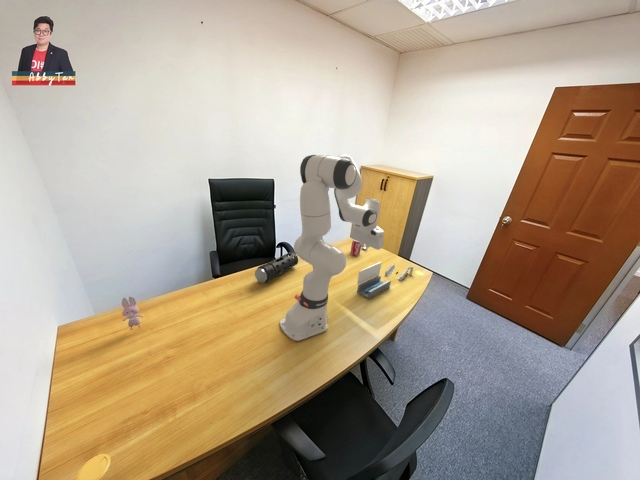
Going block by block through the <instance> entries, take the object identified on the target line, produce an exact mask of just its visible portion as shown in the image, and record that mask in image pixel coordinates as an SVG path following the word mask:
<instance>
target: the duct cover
mask: <svg viewBox="0 0 640 480" xmlns="http://www.w3.org/2000/svg"><path fill="white" fill-rule="evenodd" d="M382 263H383V262H382V261H379V262H377V263H374V264H372V265H369V266H368V267H365V268H363V269H360V270H359V271H358V276H357V281H356V285H357V286H358V285H360V284H362V283H364V282H366V281H368V280H370V279H372V278H374V277H376V276H378V275H380V272H381V268H382Z"/></svg>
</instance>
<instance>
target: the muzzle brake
mask: <svg viewBox="0 0 640 480" xmlns="http://www.w3.org/2000/svg"><path fill="white" fill-rule="evenodd" d="M298 264H299V256H298V255H297V254H296V253H295V252H293V251H290V252H287V253H286V254H283V255H281V256H279V257H278V258H275V259H273V260H271V261H269V262H266V263H265V264H261V265H260V266H257V268H256V269H255V270H254V277H255V279H256V281H257V282H258V283H259V284H264V283H268V282H270V281H271V280H273V279H274V278H276V277H277V276H279V275H281V274H283V273H285V272H286V271H288V270H289V269H291V268H293V267H295V266H296V265H298Z"/></svg>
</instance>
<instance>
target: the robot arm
mask: <svg viewBox="0 0 640 480" xmlns="http://www.w3.org/2000/svg"><path fill="white" fill-rule="evenodd" d="M299 172H300V173H299V174H300V177H301V178H300V179H301V182H302V185H301V187H300V194H299V195H300V196H299V208H300V220H301V235H300V236H299V237H297V238H296V240H295V242H294V244H293V250H294V253H295V254H296V255H297V257H298V258H300V260H302V261H304V262H306V263H308V264H309V265H311V266H312V270H311V271H309V272H307V273H306V274H305V275H304V277H303V282H302V283H303V284H302V290H301V293H300V295H299V294H297V293H296V294H295V295H294V299H295V300H296V302H295V303H294V304H293V305H292V306H291V307H290V308H289V309H288V310H287V311H286V314H285V316H284V317H282V319H280V321H279V327H280V329H281V330H282V332H283V333H284V334H285V335H286V336H287V337H288V338H290V339H291V340H292V341H296V342H297V341H298V342H299V341H302V340H305V339H307V338H311V337H312V336H316V335H318V334H321V333H324V332H326V331H328V321H329V318H328V312H327V309H328V308H327V304H328V300H329V293H328V292H329V286H330V282H331V279H332V278H333V277H334V276H338V275H339V274H341V273H342V272H343V271H344V270H345V269H346V267H347V266H346V265H347V256H346V255H347V254H345V252H343V251H342V250H340V248H338V247H336V246H334V245H332V244H330V243H328V242H326V241H324V236H326V235H327V234H328V233H329V232H330V230H331V228H332V219H331V203H330V202H331V201H330V197H329V196H330V195H329V191H330V189H334V191H333V194H334V198H335V202H336V205H337V209H338V216H339V218H340V220H341V221H342V222H345V223H346V222H347V223H351V224H352V229H351V233H350V239H352V240H356V241H359V242H361V250H360V251H363V252H364V253H367V252H368V249H370V247H371V248H372V249H374V250H377V251H379V250H381V249H383V246H384V242H385V241H384V240H385V239H384V236H383V235H384V234H385V230H383V228H381V227H379V226H378V219H379V217H380V212H381V201H379V200H378V199H375V198H372V197H371V198H370V197H368V198H366V199H365V200H364V204H363V205H359V204H354V203H351V202H350V201H349V199H354V198H355V197H357V196H358V194H360V192H361V191H362V188H363V179H362V176H361V173H360V171H359V169H358V166H357V164H356V162H355V161H354V160H353V158H352V156H351V155H348V154H339V155H337V156H333V155H332V156H331V155H329V154H328V155H327V154H326V155H325V154H319V155H318V154H310V155H307V156H305V157H304V158H303V159H302V161H301V163H300V167H299Z"/></svg>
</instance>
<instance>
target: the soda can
mask: <svg viewBox="0 0 640 480" xmlns="http://www.w3.org/2000/svg"><path fill="white" fill-rule="evenodd" d="M361 249H362V247H361V242H359V241H356V240H354V239H352V242H351V246H350V255H351V256H355V257H358V256H360V254H361V251H362V250H361Z"/></svg>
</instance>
